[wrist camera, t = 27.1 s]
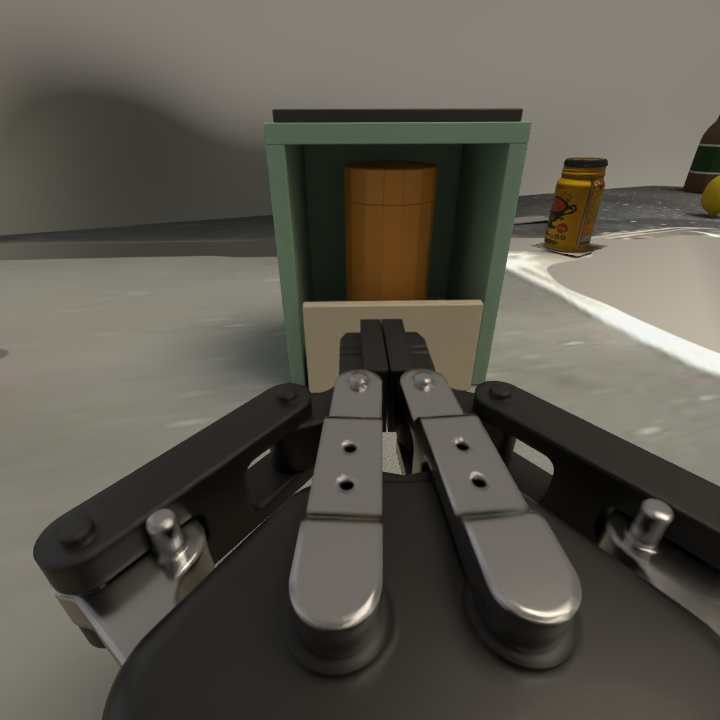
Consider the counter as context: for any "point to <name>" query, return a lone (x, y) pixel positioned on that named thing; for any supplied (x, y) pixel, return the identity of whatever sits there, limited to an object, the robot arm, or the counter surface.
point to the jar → (388, 229)
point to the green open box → (451, 214)
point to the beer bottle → (705, 161)
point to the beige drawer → (426, 317)
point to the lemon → (712, 197)
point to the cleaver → (529, 219)
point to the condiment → (575, 207)
